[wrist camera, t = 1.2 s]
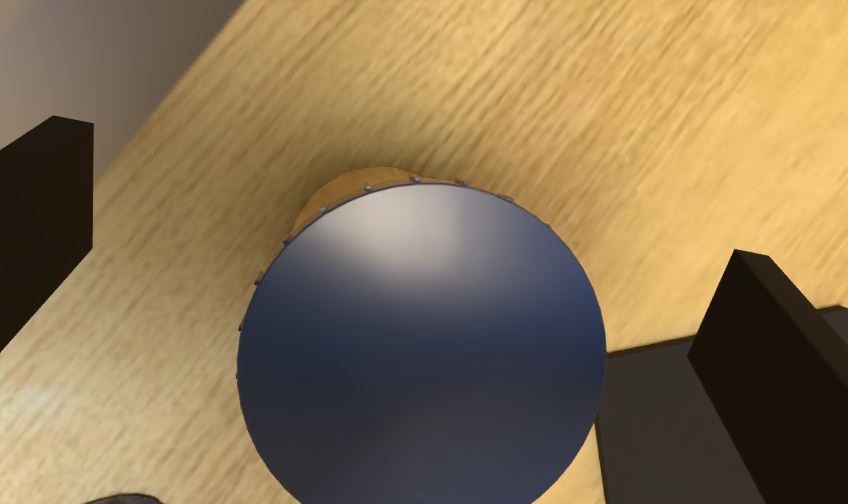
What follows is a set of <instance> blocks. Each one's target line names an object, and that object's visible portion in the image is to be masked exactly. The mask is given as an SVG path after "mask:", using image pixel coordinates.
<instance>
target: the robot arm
mask: <svg viewBox="0 0 848 504" xmlns="http://www.w3.org/2000/svg"><path fill="white" fill-rule="evenodd" d="M93 132H94V124H93V123H89V122H84V121H79V120H74V119H69V118H64V117H58V116H52V117H50V118H48V119H47V120H45V121H44V122H42V123H41V124H39V125H38V126H36V127H35V128H33V129H32V130H30V131H29V132H27V133H26V134H24V135H23V136H21V137H20V138H18V139H16V140H15V141H14V142H12V143H11V144H9V145H7V146H6V147H4V148H3V149H1V150H0V353H1V351H2V350H3V349H4V348H5V347H6V346H7V345H8V343H9V342H10V341H11V340H12V339H13V338H14V337H15V336H16V334H17V333H18V332H19V331H20V330H21V329H22V328H23V326H24V325H25V324H26V323H27V322H28V321H29V320H30V319H31V317H32V316H33V315H34V314H35V313H36V312H37V311H38V309H39V308H40V307H41V306H42V305H43V304H44V303H45V302H46V300H47V299H48V298H49V297H50V296H51V295H52V294H53V293H54V291H55V290H56V289H57V288H58V287H59V286H60V285H61V283H62V282H63V281H64V280H65V279H66V278H67V277H68V276H69V274H70V273H71V272H72V271H73V270H74V269H75V268H76V266H77V265H78V264H79V263H80V262H81V261H82V260H83V259H84V257H85V256H86V255H87V254H88V253H89V252H90V251H91V249H92V248H93V142H94V139H93V137H94V133H93ZM687 358H688V359H689V361H690V363H691V365H692V367H693V369H694V371H695V373H696V374H697V376H698V378H699V380H700V382H701V384H702V386H703V388H704V389H705V391H706V393H707V395H708V397H709V399H710V401H711V402H712V404H713V406H714V408H715V410H716V412H717V414H718V416H719V417H720V419H721V421H722V423H723V425H724V427H725V429H726V431H727V432H728V434H729V436H730V438H731V440H732V442H733V444H734V446H735V447H736V449H737V451H738V453H739V455H740V457H741V459H742V461H743V462H744V464H745V466H746V468H747V470H748V472H749V474H750V476H751V477H752V479H753V481H754V483H755V485H756V487H757V489H758V491H759V492H760V494H761V496H762V498H763V500H764V502H765V504H848V345H847V344H846V342H845V341H844V340H843V339H842V338H841V337H840V336H839V334H838V333H837V332H836V331H835V330H834V329H833V328H832V327H831V325H830V324H829V323H828V322H827V321H826V320H825V319H824V318H823V316H822V315H821V314H820V313H819V312H818V311H817V310H816V309H815V307H814V306H813V305H812V304H811V303H810V302H809V301H808V299H807V298H806V297H805V296H804V295H803V294H802V293H801V292H800V290H799V289H798V288H797V287H796V286H795V285H794V284H793V283H792V281H791V280H790V279H789V278H788V277H787V276H786V275H785V273H784V272H783V271H782V270H781V269H780V268H779V267H778V266H777V264H776V263H775V262H774V261H773V260H772V259H771V258H770V257H769V256H767V255H762V254H757V253H752V252H747V251H742V250H737V249H734V251H733V253H732V256H731V258H730V260H729V262H728V265H727V267H726V269H725V271H724V274H723V276H722V278H721V280H720V283H719V285H718V287H717V289H716V291H715V294H714V296H713V298H712V300H711V303H710V305H709V307H708V309H707V312H706V314H705V316H704V318H703V321H702V323H701V325H700V327H699V330H698V332H697V334H696V336H695V339H694V341H693V343H692V345H691V348H690V350H689V352H688V354H687Z"/></svg>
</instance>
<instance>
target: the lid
mask: <svg viewBox="0 0 848 504" xmlns="http://www.w3.org/2000/svg"><path fill="white" fill-rule="evenodd" d="M468 183H469V182H467V181H464V180H460V179H457V178H455V181H447V180H441V179H434V178H420V177H418V176H415V175H409V178H407V179H398V180H389V181H385V182H381V183H377V184H373V185H369V184H368V183H363V186H364V187H363V188H360V189H358V190H355V191H352V192H350V193H347V194H345V195H343V196H341V197H339V198H338V199H336V200H334V201H332V202H330V203H329V204H327V205H326V204H325V202H323V203H322V204H321V205H320V209H319V210H318V211H317V212H315V213H314V214H313V215H311V216H310V217H309V218H307V219H306V220H305V221H304V222H303V223H302V224H301V225H300V226H299V227H298V228H297V229H296V230H294V231H293V232H292V233H291V234H290V233H289V232H287V234H286V235H285V236H284V239H283V241H282V243H283V244H282V245H281V247H280V248H279V249H278V250H277V252H276V253H275V254H274V256H273V258H272V259H271V261H270V263H269V264H268V266H267V268H266V270H265V271H264V272H263V271H260V273H259V275H258V277H257V279H256V281H255V283H254V285H256V286H257V287H256V290H255V292H254V294H253V297H252V299H251V301H250V304H249V306H248V308H247V311H246V314H245V315H244V318H243V320H242V322H241V324H240V326H239V330H238V331H241V333H240V338H239V346H238V354H237V373H236V379H237V386H238V393H239V399H240V406H241V410H242V413H243V417H244V420H245V423H246V427H247V430H248V432H249V434H250V437H251V439H252V441H253V443H254V445H255V448H256V450H257V452H258V453H259V455H260V457H261V458H262V460H263V461H264V463H265V464H266V466H267V468H268V469H269V471H270V472H271V473H272V474H273V476H274V477H275V478H276V479H277V480H278V481H279V483H280V484H281V485H282V486H283V487H284V488H285V490H287V491H288V492H289V493H290V494H291V495H292V496H293V497H294V498H295V499H297V500H298V501H299V502H300V503H301V504H531V503H532V502H534V501H535V500H536V499H538V498H539V497H540V496H541V495H542V494H544V493H545V492H546V491H547V490H548V489H549V488H550V487H551V486H552V485H553V484H554V483H555V482H556V481H557V480H558V479H559V478H560V476H561V475H562V474H563V473H564V471H565V470H566V469H567V468H568V467H569V465H570V464H571V463H572V461H573V460H574V458H575V457H576V455H577V454H578V452H579V450H580V449H581V447H582V446H583V444H584V442H585V440H586V438H587V436H588V434H589V432H590V430H591V427H592V425H593V423H594V420H595V417H596V414H597V411H598V408H599V405H600V402H601V398H602V393H603V388H604V383H605V376H606V360H607V350H606V335H605V328H604V324H603V319H602V314H601V309H600V306H599V303H598V301H597V298H596V295H595V292H594V289H593V287H592V285H591V283H590V281H589V279H588V277H587V275H586V273H585V271H584V269H583V267H582V266H581V264H580V263H579V261H578V260H577V258H576V257H575V256H574V254H573V253H572V251H571V250H570V248H569V247H568V246H567V245H566V244H565V243H564V242H563V241H562V240H561V239H560V237H559V236H558V235H557V234H556V233H555V232H554V231H553V230H552V229H551V226H550V225H548V224H546V223H543V222H542V221H541V220H540V219H538V218H537V217H536V216H535V215H533V214H531V213H530V212H528V211H527V210H525V209H523V208H522V207H520V206H519V205H517V204H515V203H513V200H514V199H512V198H510V197H507V196H504V195H501V194H497V195H495V194H493V193H490V192H487V191H484V190H481V189H479V188H475V187H472V186H468Z"/></svg>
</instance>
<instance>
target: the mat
mask: <svg viewBox="0 0 848 504" xmlns="http://www.w3.org/2000/svg"><path fill="white" fill-rule="evenodd" d="M817 311H818V312H819V313H820V314H821V315H822V316H823V318H824V319H825V320H826V321H827V322H828V323H829V324H830V325H831V327H832V328H833V329H834V330H835V331H836V332H837V333H838V334H839V336H840V337H841V338H842V339H843V340H844V341H845V342H846V344H847V345H848V308H846V307H843V306H836V307H831V308H826V309H821V310H817ZM694 339H695V336H692V337H687V338H682V339H677V340H672V341H668V342H663V343H658V344H653V345H648V346H644V347H639V348H634V349H629V350H624V351H620V352H615V353H610V354H607V360H606V376H605V383H604V388H603V393H602V398H601V402H600V405H599V408H598V411H597V414H596V417H595V427H596V434H597V441H598V449H599V456H600V463H601V470H602V477H603V485H604V492H605V499H606V504H765V502H764V500H763V498H762V496H761V494H760V492H759V491H758V489H757V487H756V485H755V483H754V481H753V479H752V477H751V476H750V474H749V472H748V470H747V468H746V466H745V464H744V462H743V461H742V459H741V457H740V455H739V453H738V451H737V449H736V447H735V446H734V444H733V442H732V440H731V438H730V436H729V434H728V432H727V431H726V429H725V427H724V425H723V423H722V421H721V419H720V417H719V416H718V414H717V412H716V410H715V408H714V406H713V404H712V402H711V401H710V399H709V397H708V395H707V393H706V391H705V389H704V388H703V386H702V384H701V382H700V380H699V378H698V376H697V374H696V373H695V371H694V369H693V367H692V365H691V363H690V361H689V359H688V358H687V354H688V352H689V350H690V348H691V345H692V343H693V341H694Z"/></svg>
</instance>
